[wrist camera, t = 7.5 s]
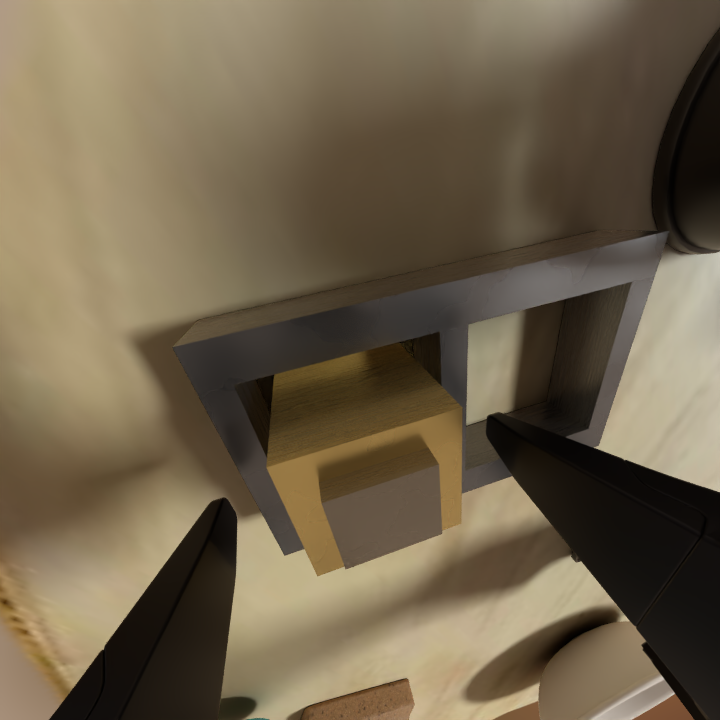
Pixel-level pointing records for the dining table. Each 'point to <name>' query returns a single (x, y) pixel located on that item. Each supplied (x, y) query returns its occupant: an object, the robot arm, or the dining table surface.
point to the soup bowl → (601, 677)
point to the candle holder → (367, 704)
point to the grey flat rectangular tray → (434, 344)
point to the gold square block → (365, 455)
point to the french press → (692, 162)
